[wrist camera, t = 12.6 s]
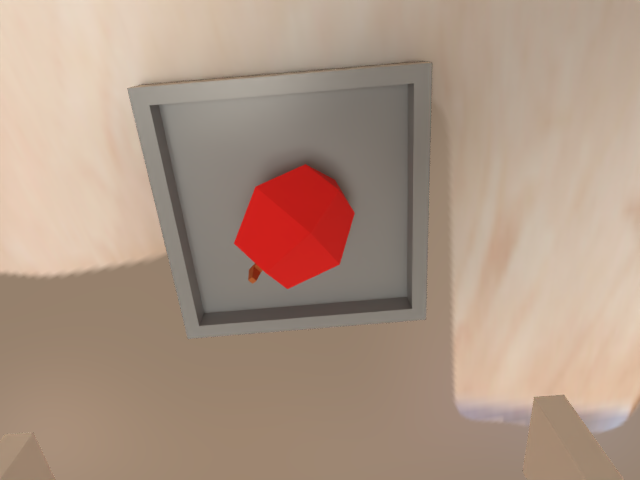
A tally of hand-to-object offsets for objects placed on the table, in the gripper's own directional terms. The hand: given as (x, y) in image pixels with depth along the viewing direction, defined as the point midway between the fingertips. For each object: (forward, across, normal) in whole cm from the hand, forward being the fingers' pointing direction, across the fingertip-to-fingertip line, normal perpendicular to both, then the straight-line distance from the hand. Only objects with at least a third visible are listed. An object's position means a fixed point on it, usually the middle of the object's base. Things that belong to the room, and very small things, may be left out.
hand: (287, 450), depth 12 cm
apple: (+19, 0, 0) cm, 19 cm away
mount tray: (+20, 0, 0) cm, 20 cm away
